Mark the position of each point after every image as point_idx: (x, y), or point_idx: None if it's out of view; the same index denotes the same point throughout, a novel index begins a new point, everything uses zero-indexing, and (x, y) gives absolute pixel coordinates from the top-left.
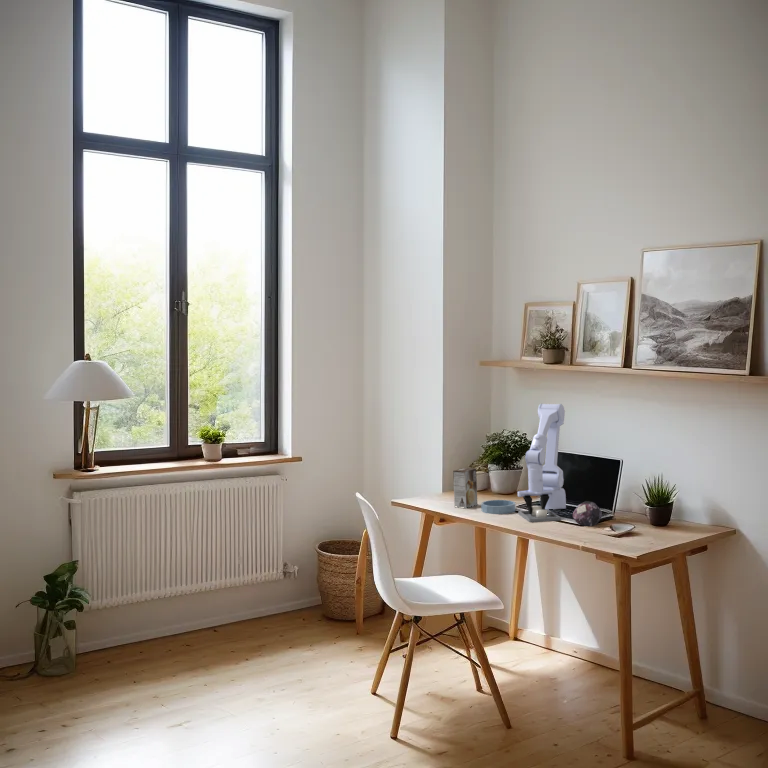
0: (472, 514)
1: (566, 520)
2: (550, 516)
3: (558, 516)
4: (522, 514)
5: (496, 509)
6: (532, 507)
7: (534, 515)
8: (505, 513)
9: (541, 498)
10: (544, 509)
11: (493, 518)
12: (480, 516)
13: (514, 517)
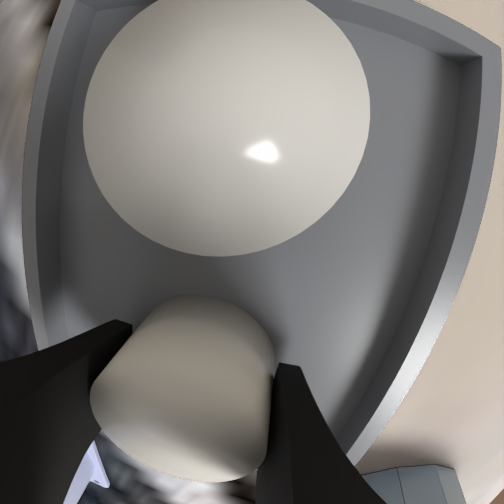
0: (471, 495)
1: (20, 96)
2: (80, 217)
3: (61, 18)
4: (417, 369)
5: (454, 500)
6: (251, 440)
7: (257, 327)
8: (403, 481)
9: (31, 499)
10: (104, 167)
11: (497, 427)
12: (489, 468)
13: (387, 427)
